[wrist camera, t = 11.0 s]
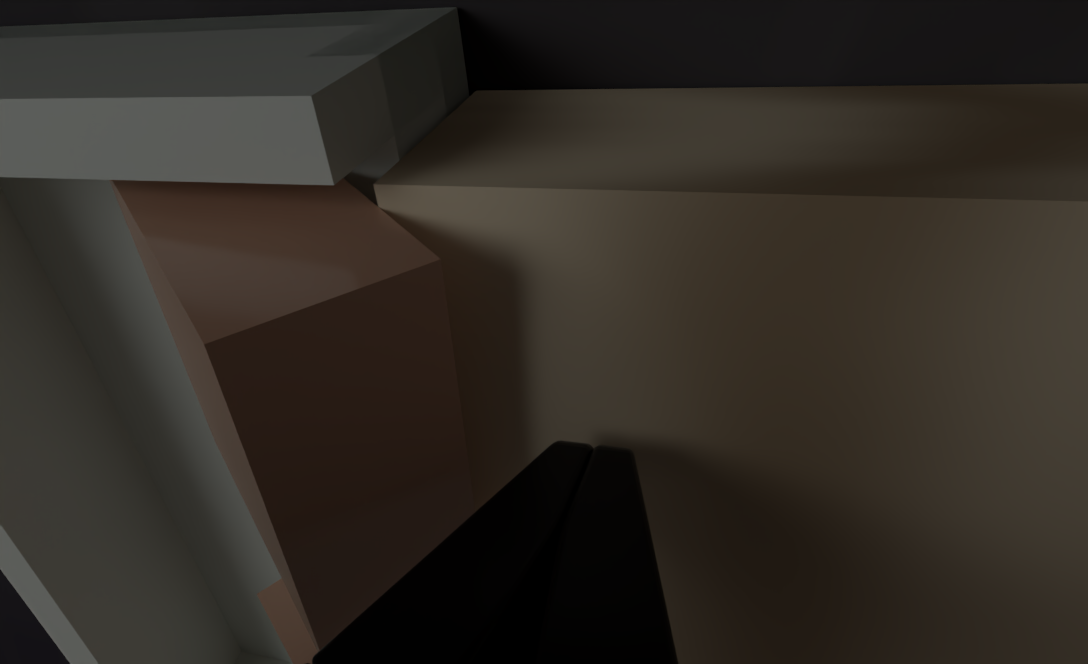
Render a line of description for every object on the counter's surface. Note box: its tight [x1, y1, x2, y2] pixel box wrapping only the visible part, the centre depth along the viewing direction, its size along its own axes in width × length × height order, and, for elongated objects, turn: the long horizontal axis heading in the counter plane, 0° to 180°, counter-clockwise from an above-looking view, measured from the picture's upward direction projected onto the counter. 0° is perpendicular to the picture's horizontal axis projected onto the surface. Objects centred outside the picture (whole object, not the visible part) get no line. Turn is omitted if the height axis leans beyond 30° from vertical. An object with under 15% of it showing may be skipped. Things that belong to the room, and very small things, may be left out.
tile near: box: [109, 178, 475, 652], centre depth 9 cm, size 4×4×2 cm
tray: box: [0, 7, 470, 664], centre depth 13 cm, size 8×15×4 cm, turn 5°
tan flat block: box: [373, 84, 1088, 664], centre depth 11 cm, size 9×12×3 cm
